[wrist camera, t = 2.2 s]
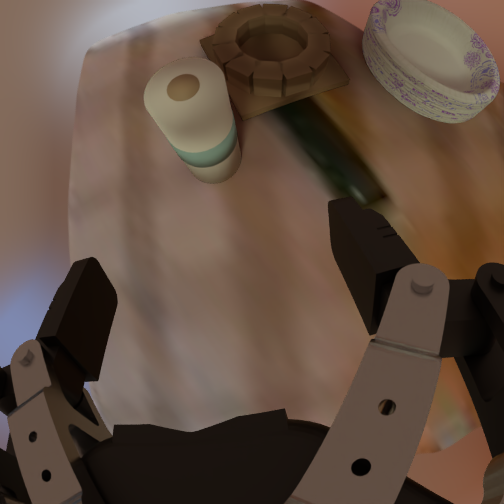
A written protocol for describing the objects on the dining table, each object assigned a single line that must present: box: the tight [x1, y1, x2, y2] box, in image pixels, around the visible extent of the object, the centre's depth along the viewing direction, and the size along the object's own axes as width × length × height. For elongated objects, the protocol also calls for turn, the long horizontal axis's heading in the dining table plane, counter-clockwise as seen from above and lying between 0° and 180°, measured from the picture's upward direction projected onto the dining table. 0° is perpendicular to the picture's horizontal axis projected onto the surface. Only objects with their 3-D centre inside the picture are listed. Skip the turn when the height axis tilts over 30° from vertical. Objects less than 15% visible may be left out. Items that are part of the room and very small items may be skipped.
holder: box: [200, 4, 350, 121], centre depth 27 cm, size 12×12×4 cm
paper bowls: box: [362, 0, 500, 123], centre depth 24 cm, size 15×15×8 cm
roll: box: [144, 57, 241, 184], centre depth 22 cm, size 5×5×12 cm
